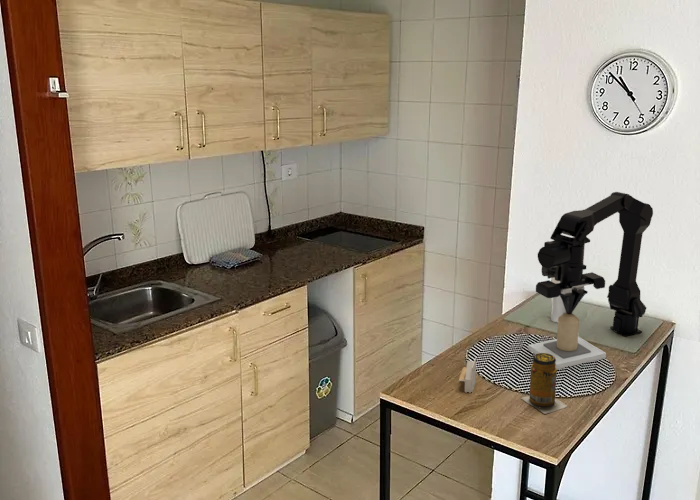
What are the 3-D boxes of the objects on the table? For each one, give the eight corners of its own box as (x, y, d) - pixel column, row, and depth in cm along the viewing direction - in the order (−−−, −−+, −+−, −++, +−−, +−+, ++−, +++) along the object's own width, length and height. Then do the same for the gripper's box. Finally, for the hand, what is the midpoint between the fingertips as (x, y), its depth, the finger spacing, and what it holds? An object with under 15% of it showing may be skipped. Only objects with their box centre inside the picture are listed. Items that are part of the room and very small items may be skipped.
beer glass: (575, 323, 201) (577, 278, 197) (552, 324, 202) (554, 279, 197) (568, 314, 208) (570, 270, 203) (546, 315, 208) (548, 271, 204)
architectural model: (458, 392, 166) (458, 366, 164) (463, 379, 172) (463, 354, 170) (472, 394, 165) (472, 368, 163) (476, 381, 171) (476, 355, 169)
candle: (578, 352, 179) (580, 318, 176) (557, 351, 180) (559, 317, 177) (576, 343, 184) (578, 310, 181) (555, 342, 185) (557, 310, 182)
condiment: (543, 391, 164) (545, 348, 161) (567, 406, 157) (570, 362, 153) (520, 399, 161) (522, 355, 158) (544, 415, 154) (546, 369, 150)
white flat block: (575, 339, 191) (575, 333, 190) (605, 358, 179) (606, 351, 179) (528, 349, 186) (528, 343, 185) (556, 369, 174) (557, 362, 174)
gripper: (581, 247, 184) (577, 298, 189) (524, 256, 179) (522, 309, 183) (608, 258, 174) (604, 312, 179) (549, 269, 169) (547, 324, 173)
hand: (568, 314), depth 179 cm, fingers closed
